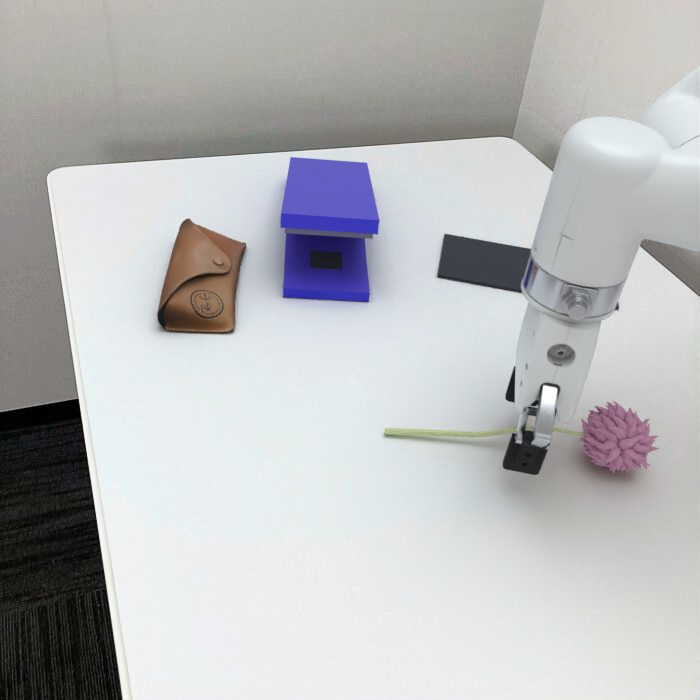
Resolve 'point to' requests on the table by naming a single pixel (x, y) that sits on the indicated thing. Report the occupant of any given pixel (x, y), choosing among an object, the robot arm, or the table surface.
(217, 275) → the sunglasses case
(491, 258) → the runner
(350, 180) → the stapler
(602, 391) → the table surface
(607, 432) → the artificial flower
